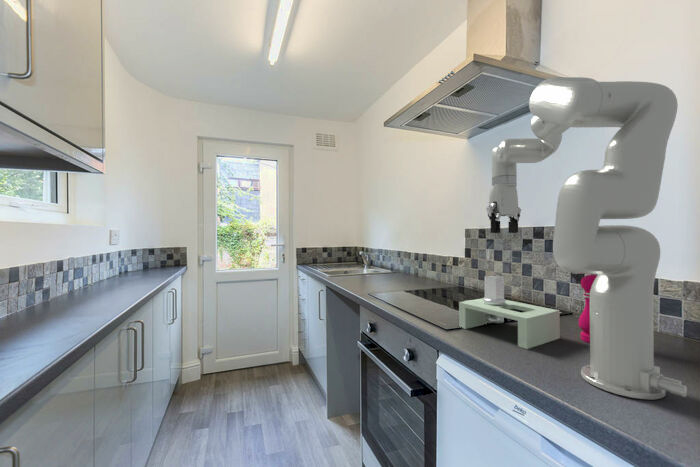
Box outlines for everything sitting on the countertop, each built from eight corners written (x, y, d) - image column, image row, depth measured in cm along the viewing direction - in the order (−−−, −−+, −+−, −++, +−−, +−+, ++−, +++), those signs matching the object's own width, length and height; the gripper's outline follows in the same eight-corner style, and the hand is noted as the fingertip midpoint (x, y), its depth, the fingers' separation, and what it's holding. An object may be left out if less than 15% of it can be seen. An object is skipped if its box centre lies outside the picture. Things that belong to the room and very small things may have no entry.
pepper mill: (581, 343, 83) (580, 270, 83) (576, 335, 90) (575, 267, 90) (615, 347, 80) (614, 271, 80) (607, 339, 86) (606, 268, 86)
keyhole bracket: (559, 338, 87) (559, 310, 87) (526, 349, 79) (526, 318, 79) (491, 319, 106) (490, 296, 106) (459, 327, 99) (459, 302, 99)
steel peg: (510, 321, 95) (509, 277, 95) (497, 325, 92) (496, 278, 92) (492, 317, 101) (491, 274, 101) (479, 319, 98) (478, 276, 98)
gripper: (509, 186, 111) (509, 232, 111) (477, 182, 103) (478, 233, 103) (529, 183, 105) (530, 232, 105) (498, 179, 96) (498, 233, 96)
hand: (504, 232), depth 104 cm, fingers open, 9 cm apart
